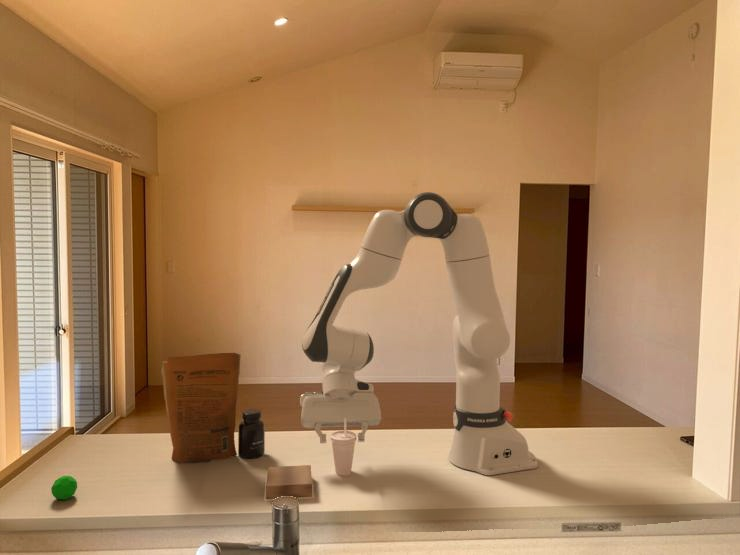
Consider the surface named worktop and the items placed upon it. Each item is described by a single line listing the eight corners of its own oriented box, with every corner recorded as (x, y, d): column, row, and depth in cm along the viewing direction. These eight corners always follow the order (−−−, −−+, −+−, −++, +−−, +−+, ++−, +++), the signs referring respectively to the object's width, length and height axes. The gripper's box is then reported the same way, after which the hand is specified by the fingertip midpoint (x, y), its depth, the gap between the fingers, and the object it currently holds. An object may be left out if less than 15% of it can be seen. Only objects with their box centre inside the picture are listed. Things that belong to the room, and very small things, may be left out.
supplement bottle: (258, 462, 143) (258, 416, 142) (233, 459, 144) (233, 414, 143) (268, 451, 149) (268, 408, 148) (245, 449, 151) (244, 406, 150)
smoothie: (346, 481, 132) (346, 424, 130) (324, 475, 135) (324, 419, 134) (361, 472, 137) (361, 416, 136) (340, 466, 140) (340, 412, 139)
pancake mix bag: (241, 462, 142) (239, 354, 140) (162, 467, 139) (160, 356, 137) (242, 452, 149) (241, 349, 147) (168, 456, 146) (165, 351, 144)
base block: (310, 477, 133) (310, 465, 133) (312, 496, 123) (312, 483, 123) (268, 479, 132) (268, 467, 131) (266, 499, 122) (265, 486, 121)
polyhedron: (47, 503, 120) (46, 482, 120) (59, 493, 125) (58, 472, 125) (70, 503, 120) (69, 482, 120) (81, 493, 125) (81, 472, 125)
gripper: (299, 386, 142) (299, 437, 133) (378, 384, 145) (384, 434, 136) (299, 398, 147) (299, 448, 138) (376, 396, 149) (381, 445, 140)
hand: (342, 441), depth 137 cm, fingers open, 8 cm apart
